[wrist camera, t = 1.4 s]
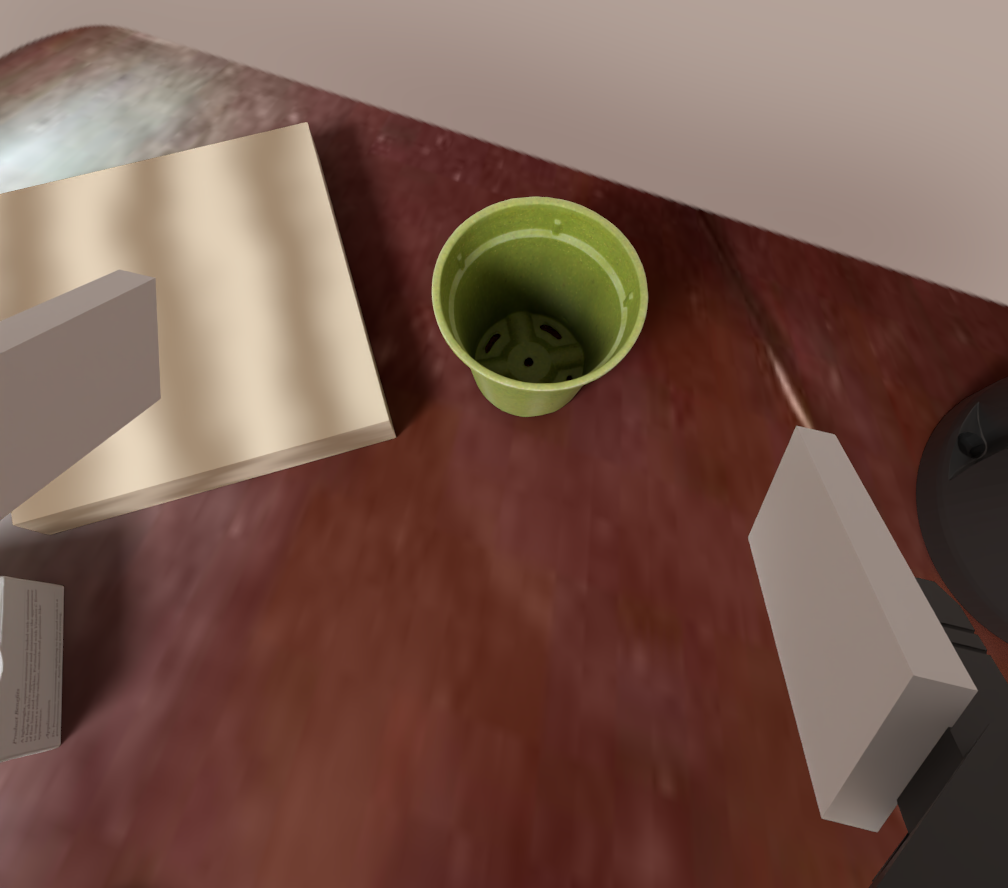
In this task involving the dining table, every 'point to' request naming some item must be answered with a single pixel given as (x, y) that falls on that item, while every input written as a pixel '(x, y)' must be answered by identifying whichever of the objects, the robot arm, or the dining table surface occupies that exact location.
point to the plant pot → (538, 300)
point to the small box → (30, 666)
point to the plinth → (206, 318)
